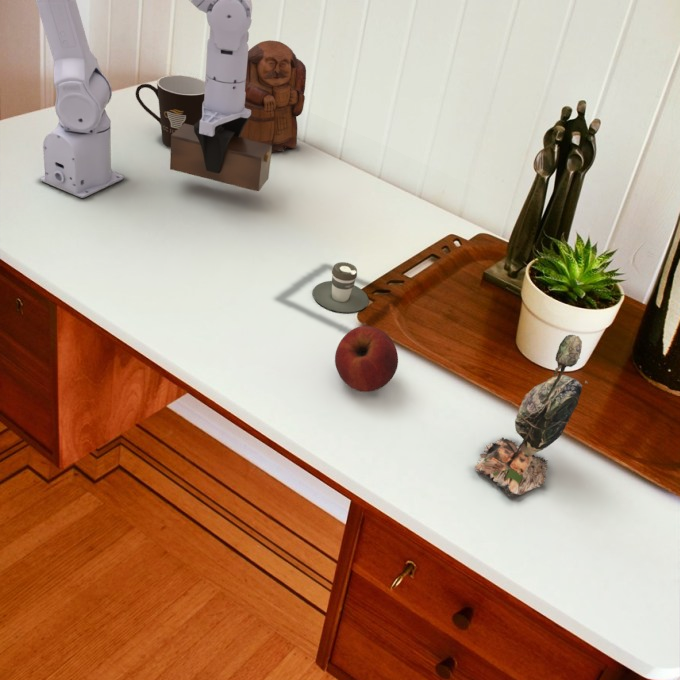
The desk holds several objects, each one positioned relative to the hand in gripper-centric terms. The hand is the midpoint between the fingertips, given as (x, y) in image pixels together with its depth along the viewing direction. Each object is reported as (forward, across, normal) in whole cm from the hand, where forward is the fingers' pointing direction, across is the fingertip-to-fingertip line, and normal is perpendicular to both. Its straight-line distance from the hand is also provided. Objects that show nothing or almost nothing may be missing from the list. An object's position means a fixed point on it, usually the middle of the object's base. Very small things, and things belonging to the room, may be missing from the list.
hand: (219, 164), depth 134 cm
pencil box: (+2, 0, 0) cm, 2 cm away
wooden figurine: (+6, +22, -1) cm, 23 cm away
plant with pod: (+6, -45, -51) cm, 68 cm away
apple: (+6, -37, -31) cm, 49 cm away
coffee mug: (+6, +16, +13) cm, 22 cm away
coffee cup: (+6, -20, -25) cm, 32 cm away
